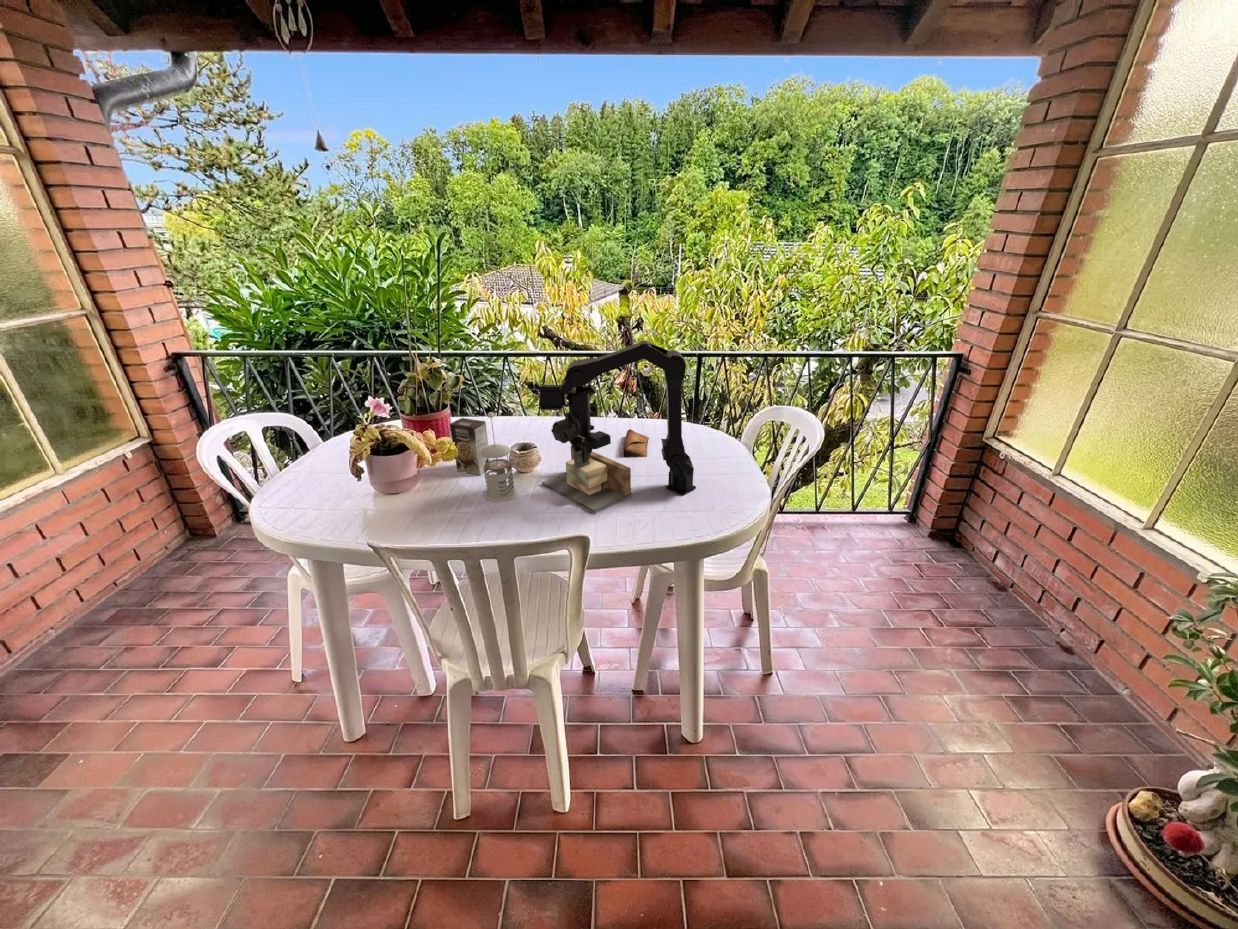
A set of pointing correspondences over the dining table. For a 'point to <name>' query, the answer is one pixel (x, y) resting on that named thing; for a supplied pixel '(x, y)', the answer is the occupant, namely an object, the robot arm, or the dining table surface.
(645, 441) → the sunglasses case
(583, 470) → the wooden block
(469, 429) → the coffee box
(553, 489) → the wall board
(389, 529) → the dining table surface
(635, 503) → the dining table surface
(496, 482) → the french press
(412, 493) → the dining table surface
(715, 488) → the dining table surface
